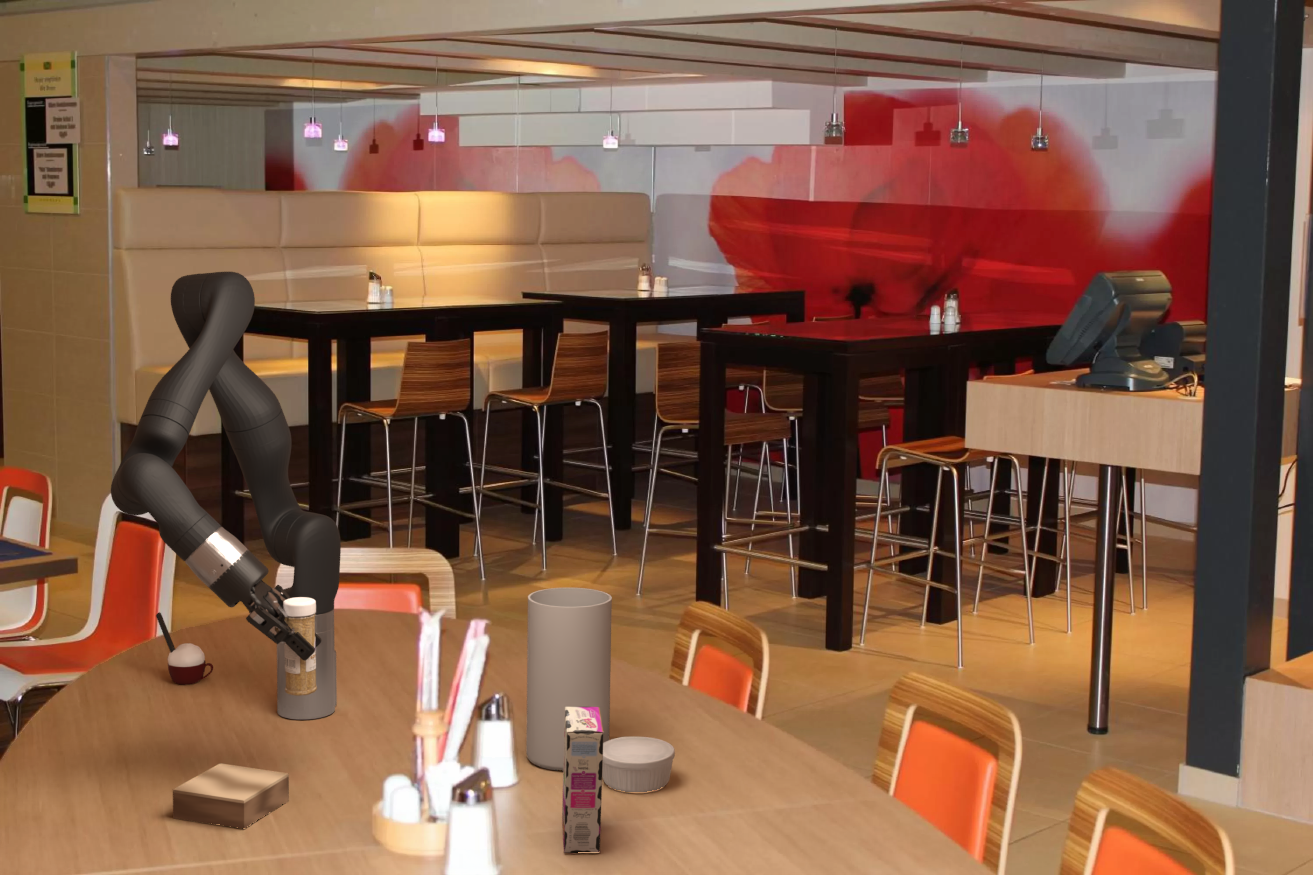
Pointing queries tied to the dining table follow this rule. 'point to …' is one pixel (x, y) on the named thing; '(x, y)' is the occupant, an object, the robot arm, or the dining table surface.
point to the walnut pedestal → (230, 795)
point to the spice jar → (297, 670)
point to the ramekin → (637, 763)
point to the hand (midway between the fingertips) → (313, 650)
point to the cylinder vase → (565, 666)
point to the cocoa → (184, 660)
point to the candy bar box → (582, 779)
